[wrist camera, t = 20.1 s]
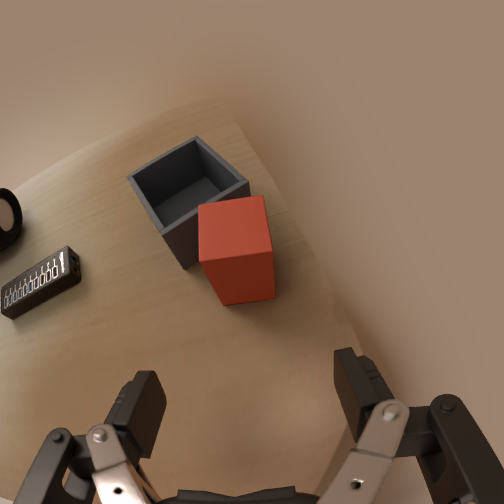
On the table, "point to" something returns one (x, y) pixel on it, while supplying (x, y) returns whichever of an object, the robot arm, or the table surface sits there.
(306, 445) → the table surface
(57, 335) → the table surface
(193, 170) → the tub
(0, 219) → the portable speaker
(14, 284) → the multiport hub
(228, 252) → the block
